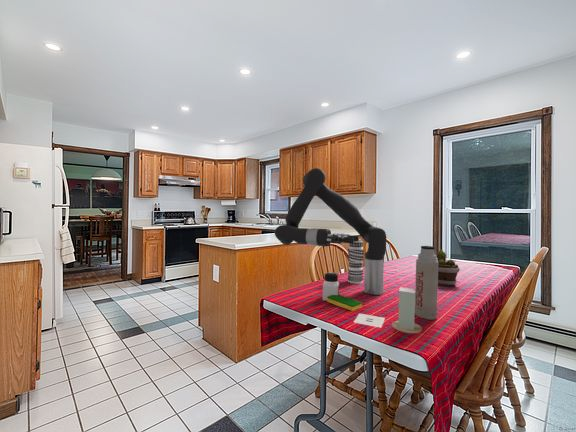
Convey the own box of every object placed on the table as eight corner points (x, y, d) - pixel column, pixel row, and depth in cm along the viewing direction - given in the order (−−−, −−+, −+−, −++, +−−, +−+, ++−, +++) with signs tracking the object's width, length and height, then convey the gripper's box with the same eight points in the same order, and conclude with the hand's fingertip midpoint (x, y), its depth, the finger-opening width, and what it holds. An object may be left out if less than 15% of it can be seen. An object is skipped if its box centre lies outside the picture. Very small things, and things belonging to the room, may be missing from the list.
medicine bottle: (338, 301, 129) (338, 275, 129) (322, 300, 131) (323, 274, 130) (338, 296, 136) (339, 272, 136) (323, 295, 138) (324, 271, 137)
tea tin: (399, 322, 106) (400, 287, 105) (414, 324, 103) (415, 289, 103) (397, 327, 101) (398, 290, 101) (413, 330, 99) (414, 293, 98)
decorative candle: (347, 283, 160) (348, 239, 160) (346, 279, 170) (347, 237, 169) (364, 284, 159) (365, 239, 158) (362, 280, 168) (363, 238, 167)
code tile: (359, 314, 115) (359, 313, 115) (385, 318, 110) (385, 317, 110) (353, 323, 106) (353, 322, 106) (381, 328, 101) (381, 327, 101)
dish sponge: (336, 298, 132) (336, 293, 132) (362, 307, 122) (362, 301, 122) (326, 301, 127) (326, 296, 127) (352, 311, 117) (352, 305, 117)
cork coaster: (393, 320, 109) (393, 318, 109) (422, 325, 104) (422, 323, 104) (390, 330, 100) (390, 328, 100) (421, 336, 95) (421, 334, 95)
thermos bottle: (421, 319, 110) (423, 247, 109) (410, 312, 117) (412, 244, 116) (441, 319, 110) (443, 247, 109) (429, 311, 118) (431, 244, 117)
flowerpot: (465, 287, 154) (466, 251, 154) (437, 287, 155) (438, 251, 154) (450, 280, 169) (451, 247, 168) (424, 280, 169) (425, 247, 168)
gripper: (312, 229, 116) (352, 231, 109) (324, 227, 129) (360, 229, 122) (312, 247, 116) (351, 251, 109) (323, 243, 129) (359, 246, 122)
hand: (356, 239), depth 115 cm, fingers open, 8 cm apart
